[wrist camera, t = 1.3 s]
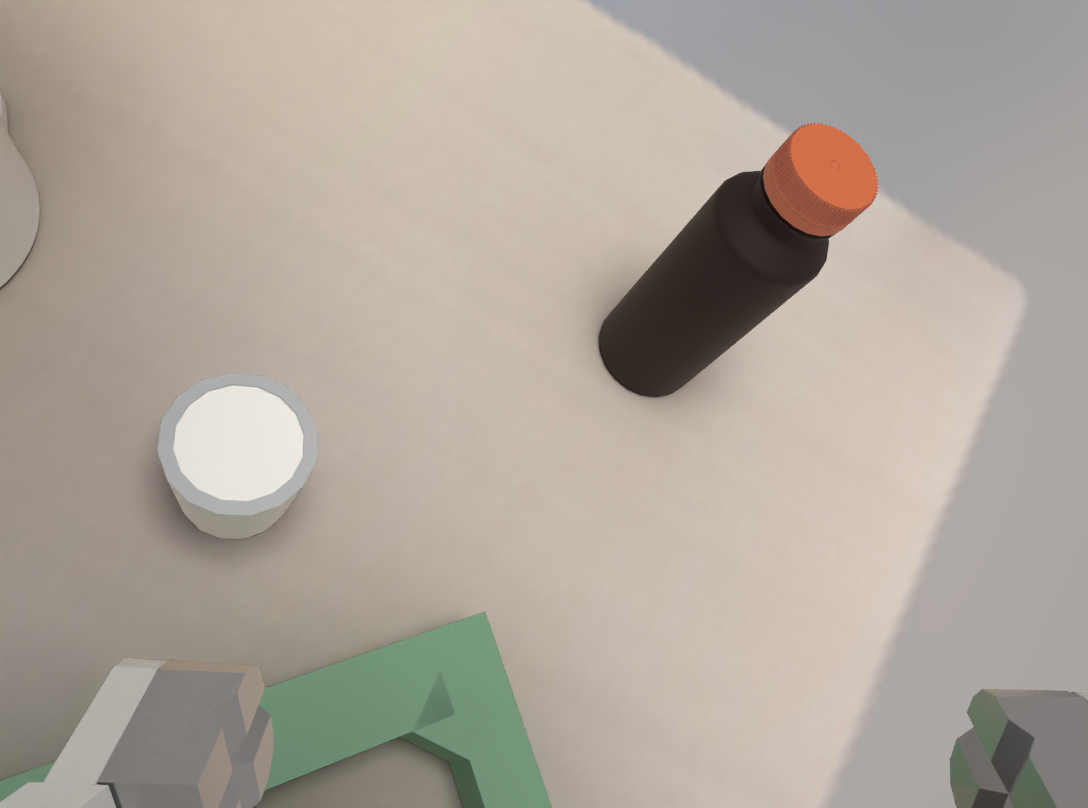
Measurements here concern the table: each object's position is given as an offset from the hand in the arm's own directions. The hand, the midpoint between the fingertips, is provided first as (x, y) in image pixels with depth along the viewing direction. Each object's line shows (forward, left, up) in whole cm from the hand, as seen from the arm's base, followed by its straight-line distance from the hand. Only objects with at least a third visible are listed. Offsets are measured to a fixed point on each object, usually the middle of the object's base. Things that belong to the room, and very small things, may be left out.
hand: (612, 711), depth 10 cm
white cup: (-9, +11, -36) cm, 39 cm away
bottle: (+10, +30, -36) cm, 48 cm away
